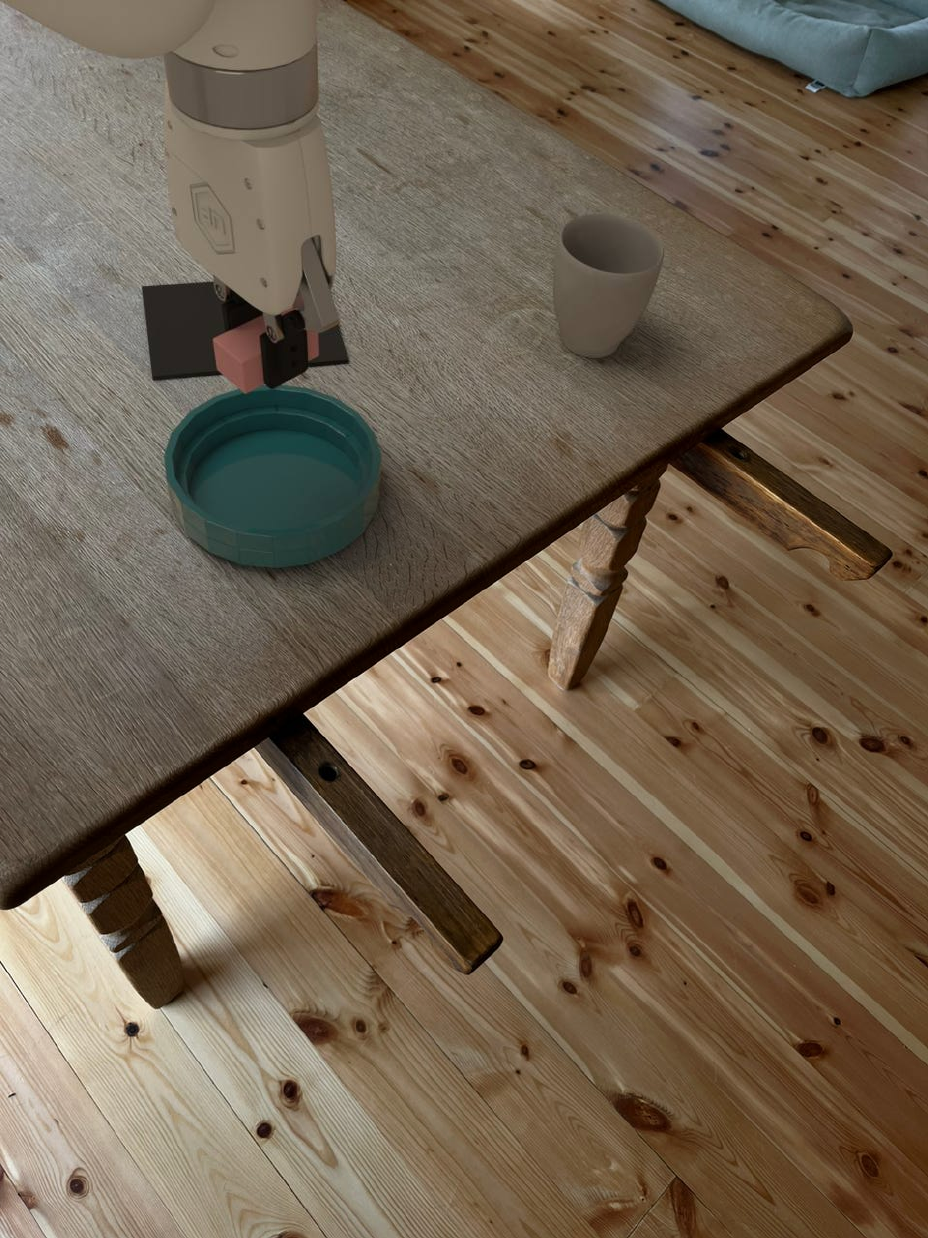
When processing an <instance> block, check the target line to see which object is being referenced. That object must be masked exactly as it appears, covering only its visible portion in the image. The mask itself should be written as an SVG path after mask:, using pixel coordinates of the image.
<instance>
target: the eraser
mask: <svg viewBox="0 0 928 1238" xmlns="http://www.w3.org/2000/svg"><path fill="white" fill-rule="evenodd" d="M292 310H294V309H293V305H292V307H291V308H290V309H288V310H286V311H283V312H281V315H284V314H286V313H288V312H290V311H292ZM264 332H266V331H265V325H264V318H263V315H262V316H260V317H257V318H255V319H253V320H251V321H249V322H247V323H245V324H243V325H241V326H239V327H237V328H235V329H233V330H230V331H228V332H226V333H224V334H222V335H219V336H217V337H215V338H213V344H214V351H215V359H216V366H217V370H218V371H219V372H220V373H221V374H220V375H223V377H225V378H226V379H227V380H228V381H229V382H231V383H232V384H233V385H234V386H235V387H236V388H237V389H240V390H241V391H242V392H243V393H245V394H246V393H248V392H250V391H252V390H254V389H256V388H258V387H260V386H262V385H265V384H264V379H263V369H262V358H261V349H260V337H259V336H260V335H261V334H262V333H264ZM307 344H308V361H310V360H312V359H314V358H315V357H317V356H319V346H318V332H309V331H307Z"/></svg>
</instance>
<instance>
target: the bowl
mask: <svg viewBox="0 0 928 1238" xmlns="http://www.w3.org/2000/svg"><path fill="white" fill-rule="evenodd" d="M377 439H378V438H377V435H376V434H375V431H373V429H372V428H371V426H370V425H369V424H368V423H367V421H366V420H365V419H364V417H363V416H362V415H361V414H360V413H359V412H358V411H357V410H354V409H353V408H352V407H350V406H349V405H347V404H346V403H345V402H343V401H342V400H341V399H338V398H337V397H335V396H332V395H329V394H326V393H323V392H321V391H318V390H315V389H312V388H308V387H303V386H295V385H287V384H282V385H280V386H278V387H276V388H274V389H270V388H269V387H267V386H266V385H265V384H264V385H262V386H260V387H258V388H256V389H254V390H252V391H250V392H248V393H246V394H245V393H243V392H242V391H241V390H240V389H239V388H236V389H234V390H230V391H227V392H224V393H221V394H217V395H215V396H212V397H211V398H209V399H208V400H206V401H204V402H203V403H201V404H199V405H198V406H196V407H195V408H193V409H192V410H190V411H189V412H188V413H187V414H185V416H184V417H183V419H182V420H181V421H180V422H179V423H178V425H176V427H175V428H174V429H173V430H172V431H171V433H170V436H169V439H168V441H167V445H166V448H165V451H164V454H163V461H164V469H165V471H164V472H165V479H166V483H167V488H168V494H169V498H170V505H171V509H172V513H173V515H174V517H175V518H176V519H177V521H178V523H179V524H180V526H181V528H182V529H183V531H184V533H185V534H186V535H187V537H189V538H191V539H192V540H193V541H194V542H196V543H197V544H198V545H199V546H201V547H202V548H203V549H204V550H206V551H207V552H208V553H210V554H212V555H215V556H217V557H220V558H222V559H226V560H228V561H231V562H233V563H236V564H238V565H243V566H253V567H261V568H272V569H273V568H274V569H279V568H286V567H287V568H288V567H295V566H301V565H309V564H312V563H314V562H317V561H319V560H321V559H324V558H326V557H329V556H332V555H335V554H337V553H339V552H341V551H342V550H344V549H345V548H346V547H347V546H348V545H350V544H351V543H352V542H354V541H355V540H356V539H358V538H359V537H360V536H361V535H362V534H363V533H364V532H365V531H366V529H367V527H368V525H370V523H371V521H372V519H373V518H374V516H375V514H376V513H377V511H378V504H379V498H380V491H381V476H382V474H381V473H382V453H381V449H380V446H379V443H378V440H377Z"/></svg>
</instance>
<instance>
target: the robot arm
mask: <svg viewBox="0 0 928 1238" xmlns="http://www.w3.org/2000/svg"><path fill="white" fill-rule="evenodd" d="M0 2H1V3H2V4H4V5H6V6H8V7H10V8H11V9H13V10H14V11H16V12H19V13H21V14H22V15H24V16H25V17H27V18H29V19H31V20H33V21H34V22H37V23H38V24H40V25H42V26H44V27H45V28H47V29H49V30H51V31H53V32H54V33H56V34H57V35H60V36H62V37H63V38H65V39H68V40H69V41H71V42H74V43H76V45H79V46H82V47H83V48H85V49H87V50H89V51H91V52H95V53H98V54H100V55H104V56H108V57H112V58H117V59H122V60H145V59H150V58H156V57H160V56H162V57H163V58H162V59H163V65H164V71H165V79H166V80H165V82H164V96H163V117H162V118H163V119H162V120H163V144H164V146H163V147H164V158H165V168H166V169H165V170H166V171H165V172H166V181H167V187H168V189H167V190H168V198H169V205H170V213H171V214H170V215H171V219H172V225H173V230H174V235H175V237H176V240H177V241H178V243H179V245H180V246H181V248H182V249H183V250H184V251H185V252H186V253H187V254H189V256H191V258H193V259H194V260H195V261H197V262H198V263H199V264H200V265H201V266H202V267H203V268H205V269H206V270H207V271H209V272H210V273H211V274H212V276H213V277H212V278H213V281H214V289H215V292H216V294H217V296H218V297H219V298H220V299H221V300H222V301H225V300H226V303H224V304H222V312H223V320H224V328H225V333H226V332H228V331H230V330H233V329H235V328H237V327H239V326H241V325H243V324H245V323H247V322H249V321H251V320H253V319H255V318H257V317H260V316H262V315H263V318H264V325H265V331H266V332H264V333H262V334H261V335H260V336H259V337H260V349H261V358H262V369H263V379H264V385H266V386H267V387H269V388H270V389H274V388H276V387H278V386H280V385H285V383H288V382H289V381H292V380H293V379H295V378H297V377H299V376H301V375H302V374H304V373H306V372H307V371H308V369H309V367H310V366H309V365H308V344H307V331H309V332H318V333H322V332H324V331H326V330H328V329H330V328H332V327H334V326H336V325H339V324H340V317H339V313H338V311H337V308H336V305H335V301H334V299H333V296H332V292H331V289H332V288H333V286H334V283H335V278H336V273H337V272H336V271H337V236H336V235H337V234H336V233H337V231H336V218H335V216H336V215H335V204H334V196H333V195H334V194H333V187H332V185H333V184H332V177H331V171H330V170H331V169H330V164H329V155H328V151H327V145H326V140H325V135H324V130H323V124H322V120H321V118H320V117H319V116H318V112H319V107H320V93H319V91H320V90H319V88H320V87H319V58H318V57H319V56H318V55H319V53H318V25H317V23H318V22H317V0H0ZM292 305H293V309H294V310H292V311H290V312H288V313H286V314H284V315H281V312H283V311H286V310H288V309H290V308H291V307H292Z"/></svg>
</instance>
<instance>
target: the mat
mask: <svg viewBox="0 0 928 1238" xmlns="http://www.w3.org/2000/svg"><path fill="white" fill-rule="evenodd" d="M141 292H142V293H141V294H142V301H143V309H144V318H145V327H146V335H147V344H148V345H147V346H148V354H149V363H150V371H151V379H152V381H159V380H169V379H170V380H171V379H179V378H180V379H181V378H182V379H183V378H192V377H193V378H194V377H204V376H216V375H222V374H221V373H220V372H219V371H218V370H217V366H216V359H215V351H214V344H213V338H215V337H217V336H219V335H222V334H224V333H225V328H224V320H223V312H222V304H224V303H226V300H225V301H222V300H221V299H220V298H219V297H218V296H217V294H216V292H215V289H214V280H213V281H197V282H184V283H183V282H182V283H172V284H171V283H169V284H155V285H142V286H141ZM318 346H319V356H317V357H315V358H314V359H312V360H310V361H308V365H309V366H308V367H318V366H329V365H339V364H348V363H349V357H348V354H347V353H348V352H347V350H346V346H345V343H344V339H343V336H342V333H341V328H340V325H339V324H338V325H336V326H334V327H332V328H330V329H328V330H326V331H324V332H322V333H318Z"/></svg>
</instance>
